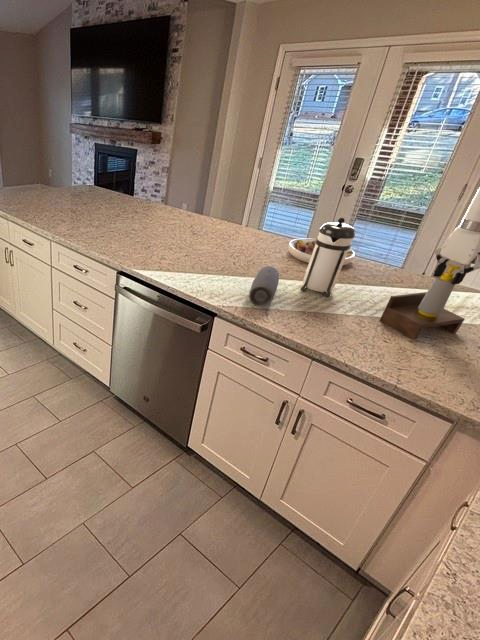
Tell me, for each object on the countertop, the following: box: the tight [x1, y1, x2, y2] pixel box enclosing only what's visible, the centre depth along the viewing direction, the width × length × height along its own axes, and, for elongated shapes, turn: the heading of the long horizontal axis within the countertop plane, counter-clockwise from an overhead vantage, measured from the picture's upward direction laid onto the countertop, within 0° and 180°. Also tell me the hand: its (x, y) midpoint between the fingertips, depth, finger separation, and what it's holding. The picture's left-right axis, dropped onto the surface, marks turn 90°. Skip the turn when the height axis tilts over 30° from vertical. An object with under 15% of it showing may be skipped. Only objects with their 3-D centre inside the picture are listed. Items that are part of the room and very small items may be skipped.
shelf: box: [379, 291, 465, 341], centre depth 147 cm, size 14×20×10 cm
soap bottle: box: [418, 263, 460, 317], centre depth 140 cm, size 7×7×18 cm
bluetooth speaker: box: [248, 266, 280, 308], centre depth 162 cm, size 23×9×10 cm, turn 154°
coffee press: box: [299, 217, 356, 298], centre depth 166 cm, size 17×16×30 cm
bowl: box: [287, 238, 356, 266], centre depth 205 cm, size 30×30×8 cm
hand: (446, 279), depth 138 cm, fingers closed on soap bottle, 5 cm apart
